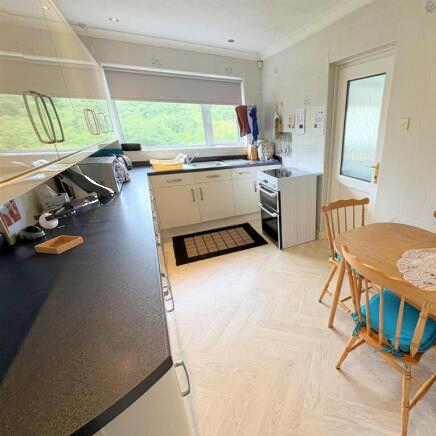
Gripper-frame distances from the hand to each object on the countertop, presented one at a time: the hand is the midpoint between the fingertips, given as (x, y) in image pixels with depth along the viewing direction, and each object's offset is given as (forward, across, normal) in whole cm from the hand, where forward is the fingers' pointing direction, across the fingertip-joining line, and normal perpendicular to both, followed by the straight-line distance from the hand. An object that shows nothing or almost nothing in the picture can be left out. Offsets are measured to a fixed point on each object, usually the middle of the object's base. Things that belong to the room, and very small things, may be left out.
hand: (40, 218), depth 105 cm
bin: (-4, -1, +17) cm, 18 cm away
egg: (-2, 0, +6) cm, 7 cm away
